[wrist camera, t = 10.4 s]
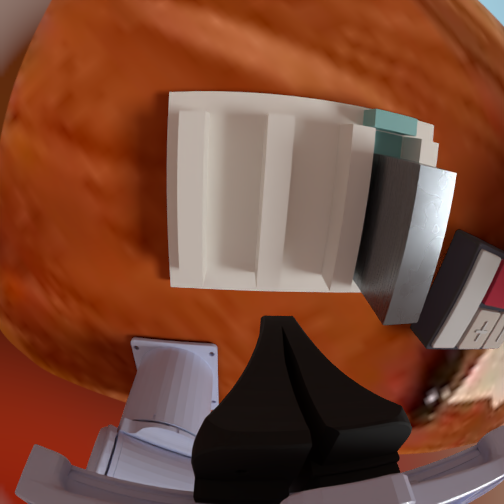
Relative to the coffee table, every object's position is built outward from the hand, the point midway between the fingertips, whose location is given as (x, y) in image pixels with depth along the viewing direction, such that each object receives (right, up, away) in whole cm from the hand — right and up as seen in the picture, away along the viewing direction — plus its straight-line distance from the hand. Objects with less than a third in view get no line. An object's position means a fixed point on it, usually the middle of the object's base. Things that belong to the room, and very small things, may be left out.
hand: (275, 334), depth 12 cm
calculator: (+23, -1, +13) cm, 27 cm away
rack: (+3, +7, +8) cm, 11 cm away
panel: (+8, +6, +8) cm, 13 cm away
